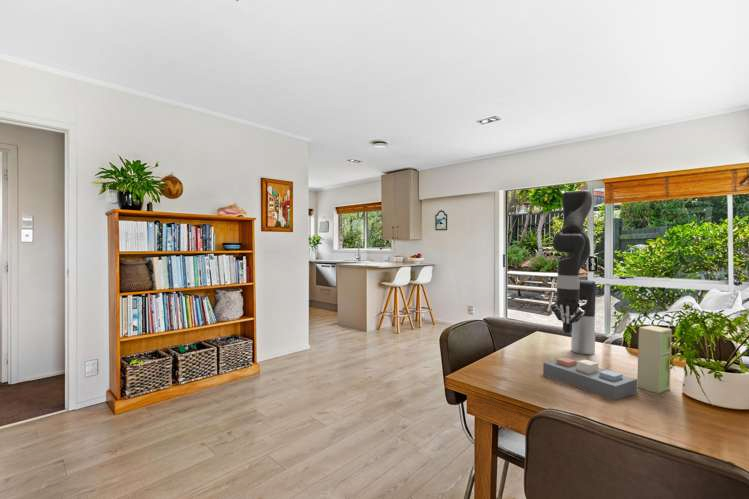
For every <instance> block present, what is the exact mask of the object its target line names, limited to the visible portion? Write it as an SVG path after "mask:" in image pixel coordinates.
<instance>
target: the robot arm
mask: <svg viewBox="0 0 749 499" xmlns="http://www.w3.org/2000/svg"><path fill="white" fill-rule="evenodd" d="M561 201H562V202H561V203H562V213H563V217H564V219H563V223H562V227H561V229H560V230H559V231H558V232H557V233H556V234H555V236H554V237H553V241H552V248H553V249H554V251H555V252H558V253H566V255H567V258H563V259H559V260H558V262H557V279H556V299H557V300H556V303H555V305H551V306H550V309H551V310H552V312H553V314H554V315H555V317H556V319H557V320H558V321H561V322H562V330H563V333H565V334H571V344H570V347H571V352H573V353H576V354H579V355H580V354H581V355H593V354H595V352H596V330H595V328H596V327H595V325H596V324H595V323H596V322H595V321H596V297H597V284H596V282H595V281H594V280H587V279H580V270H581V269H582V267H583V265H585V263H586V262H587V261H588V259H589V257H590V256H591V242H590V237H589V236H588V235H587V233H586V232H585V231H584V229H583V228H584V223H585V221H586V220H587V217H588V215H589V213H590V211H591V209H592V206H593V196H592V193H591V191H590V190H589V189H581V190H580V189H579V190H578V189H576V190H568V191H564V192H563V193H562V198H561ZM579 301H585V302H586V303H585V304H581V305H580V302H579Z"/></svg>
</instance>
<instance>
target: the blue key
mask: <svg viewBox="0 0 749 499" xmlns="http://www.w3.org/2000/svg"><path fill="white" fill-rule="evenodd" d="M604 370H605V371H602V372H599V377H601V378H604V379H607V380H610V381H613V382H616V381H620V380H622V375H623V374H622V373H621V372H620V373H619V372H616V371H612V370H609V369H604Z"/></svg>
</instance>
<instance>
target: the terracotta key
mask: <svg viewBox="0 0 749 499" xmlns="http://www.w3.org/2000/svg"><path fill="white" fill-rule="evenodd" d="M556 360H557V364H560V365H563V366H566V367H572V366H576V365H577V361H578V360H576V359H573V358H568V357H559V358H556Z"/></svg>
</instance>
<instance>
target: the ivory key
mask: <svg viewBox="0 0 749 499" xmlns="http://www.w3.org/2000/svg"><path fill="white" fill-rule="evenodd" d="M576 361H577V370H579V371H582V372H585V373H588V374H593V373H597V372H598V368H599V362H595V361H592V360H588V359H581V360H576Z"/></svg>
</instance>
